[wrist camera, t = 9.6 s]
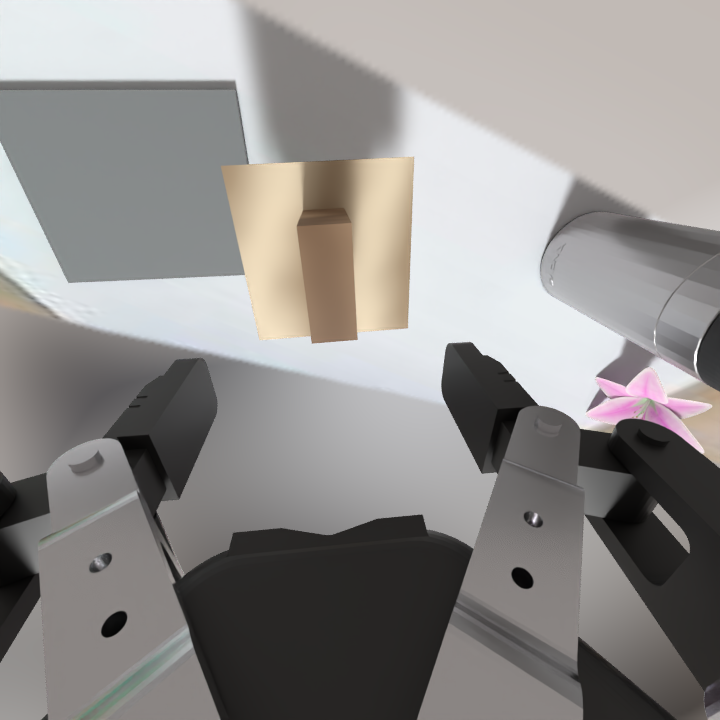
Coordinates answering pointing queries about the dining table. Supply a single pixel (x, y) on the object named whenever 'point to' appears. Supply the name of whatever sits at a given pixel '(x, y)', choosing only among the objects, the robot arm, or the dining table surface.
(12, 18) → the dining table surface
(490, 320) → the dining table surface
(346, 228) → the lid
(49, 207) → the mat
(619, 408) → the lily
